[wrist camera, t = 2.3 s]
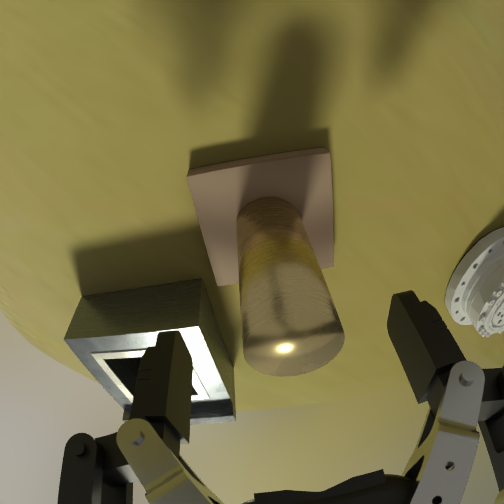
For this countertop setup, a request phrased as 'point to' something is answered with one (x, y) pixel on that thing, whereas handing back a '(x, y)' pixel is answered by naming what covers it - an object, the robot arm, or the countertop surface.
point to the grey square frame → (154, 343)
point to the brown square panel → (256, 186)
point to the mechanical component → (480, 286)
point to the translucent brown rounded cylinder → (283, 293)
